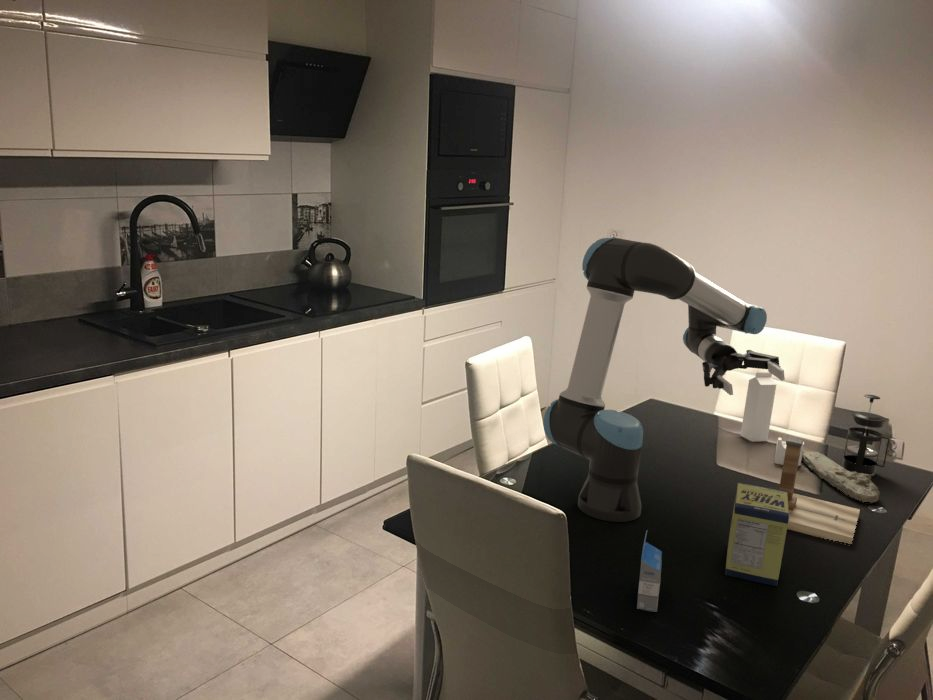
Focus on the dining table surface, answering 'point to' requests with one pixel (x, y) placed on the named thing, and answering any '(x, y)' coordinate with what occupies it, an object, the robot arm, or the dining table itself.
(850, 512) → the pine board
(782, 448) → the bracket
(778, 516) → the protein box
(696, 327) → the robot arm
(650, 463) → the dining table surface
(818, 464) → the elongated rock
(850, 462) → the french press
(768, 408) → the milk
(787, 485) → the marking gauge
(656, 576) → the label tape box
